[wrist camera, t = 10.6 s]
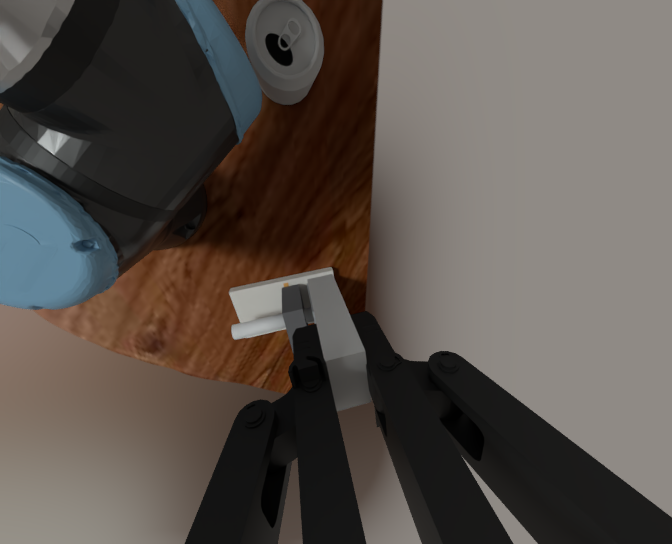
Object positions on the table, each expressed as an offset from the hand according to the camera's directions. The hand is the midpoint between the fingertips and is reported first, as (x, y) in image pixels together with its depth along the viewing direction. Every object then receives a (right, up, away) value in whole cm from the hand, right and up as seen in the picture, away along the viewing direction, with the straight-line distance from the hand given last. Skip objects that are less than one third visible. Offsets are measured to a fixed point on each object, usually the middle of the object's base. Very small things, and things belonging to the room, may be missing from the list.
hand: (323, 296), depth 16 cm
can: (-6, +28, +19) cm, 34 cm away
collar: (-7, -4, +31) cm, 32 cm away
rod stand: (-8, -4, +33) cm, 34 cm away
